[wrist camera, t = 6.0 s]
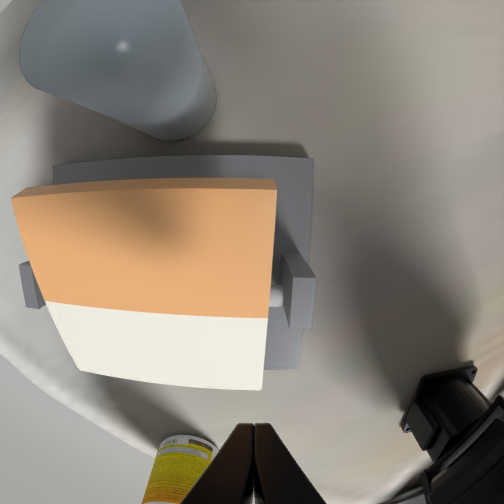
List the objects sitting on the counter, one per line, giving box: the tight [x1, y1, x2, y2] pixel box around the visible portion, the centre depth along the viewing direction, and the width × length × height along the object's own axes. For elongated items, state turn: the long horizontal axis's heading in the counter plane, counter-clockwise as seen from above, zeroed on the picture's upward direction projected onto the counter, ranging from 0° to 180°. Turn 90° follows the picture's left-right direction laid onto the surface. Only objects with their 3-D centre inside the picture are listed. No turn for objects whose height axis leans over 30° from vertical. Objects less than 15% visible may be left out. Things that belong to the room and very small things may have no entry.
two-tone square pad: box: [11, 178, 283, 390], centre depth 13 cm, size 12×11×2 cm
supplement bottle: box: [142, 435, 219, 504], centre depth 17 cm, size 6×6×10 cm
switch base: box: [19, 155, 317, 370], centre depth 15 cm, size 16×13×6 cm
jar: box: [19, 0, 216, 141], centre depth 11 cm, size 5×5×11 cm
